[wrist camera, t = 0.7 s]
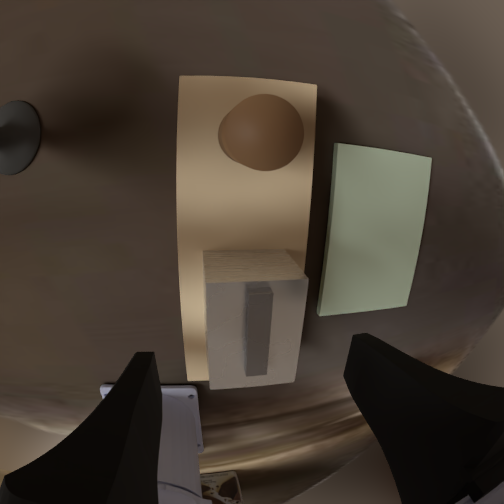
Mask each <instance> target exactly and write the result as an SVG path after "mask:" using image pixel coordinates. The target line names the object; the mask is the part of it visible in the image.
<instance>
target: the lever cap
mask: <svg viewBox="0 0 504 504" xmlns="http://www.w3.org/2000/svg"><path fill="white" fill-rule="evenodd" d="M308 281H309V278H308V277H307V276H306V275H305V274H304V272H303V271H302V270H301V269H300V268H299V266H298V265H297V264H296V263H295V261H294V260H293V259H292V258H291V257H290V255H289V254H288V253H287V252H286V251H285V249H258V250H211V251H203V293H204V322H205V345H206V355H207V366H208V375H209V385H210V390H213V389H229V388H242V387H254V386H264V385H273V384H282V383H290V382H294V381H295V375H296V368H297V362H298V356H299V349H300V342H301V335H302V328H303V321H304V313H305V306H306V298H307V290H308Z"/></svg>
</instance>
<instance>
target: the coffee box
mask: <svg viewBox="0 0 504 504" xmlns="http://www.w3.org/2000/svg"><path fill="white" fill-rule="evenodd" d="M200 481H201V490H202V499H207V500H211V501H212V504H244V503H243V498H242V493H241V488H240V485H239V481H238V477H237V474H236V472H235V471H228V472H221V473H212V474H202V475H200Z"/></svg>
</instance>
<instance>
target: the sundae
mask: <svg viewBox="0 0 504 504" xmlns="http://www.w3.org/2000/svg"><path fill="white" fill-rule="evenodd" d="M40 133H41V131H40V123H39V118H38V116H37V114H36V112H35V110H34V109H33V107H32V106H30V105H29V104H28V103H26V102H24V101H11V102H9V103H7V104H5V105H4V106H2V107H1V108H0V173H1V174H5V175H13V174H16V173H19V172H21V171H22V170H24V169H25V168H26V167H27V166H28V165H29V163H30V162H31V161H32V159H33V157H34V156H35V154H36V151H37V149H38V146H39V141H40Z"/></svg>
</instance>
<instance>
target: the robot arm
mask: <svg viewBox="0 0 504 504" xmlns="http://www.w3.org/2000/svg"><path fill="white" fill-rule="evenodd" d="M343 376H344V379H345V381H346V384H347V387H348V389H349V391H350V394H351V396H352V398H353V399H354V401H355V403H356V405H357V406H358V408H359V410H360V411H361V413H362V415H363V416H364V418H365V420H366V421H367V423H368V425H369V426H370V428H371V429H372V431H373V433H374V434H375V436H376V438H377V440H378V442H379V443H380V445H381V447H382V450H383V452H384V454H385V457H386V459H387V461H388V464H389V466H390V469H391V472H392V474H393V477H394V480H395V482H396V486H397V489H398V492H399V495H400V498H401V502H402V504H504V388H502V387H496V386H490V385H485V384H480V383H476V382H472V381H468V380H464V379H462V378H459V377H456V376H453V375H450V374H448V373H445V372H442V371H440V370H437V369H435V368H433V367H431V366H429V365H427V364H425V363H422V362H420V361H418V360H416V359H415V358H413V357H411V356H409V355H407V354H405V353H403V352H402V351H400V350H398V349H396V348H394V347H393V346H391V345H389V344H387V343H385V342H384V341H382V340H380V339H378V338H376V337H374V336H372V335H370V334H368V333H362V334H356V335H353V337H352V341H351V346H350V350H349V354H348V359H347V363H346V367H345V371H344V375H343ZM100 392H101V395H102V398H103V400H102V401H101V402H100V404H99V405H98V406H97V407H96V408H95V410H94V411H93V412H92V413H91V414H90V415H89V416H88V417H87V418H86V419H85V420H84V421H83V422H82V423H81V424H80V425H79V426H78V427H77V428H76V429H75V430H74V431H73V432H72V433H71V434H70V435H68V436H67V437H66V438H65V439H64V440H62V441H61V442H60V443H59V444H58V445H57V446H55V447H54V448H52V449H51V450H49V451H48V452H47V453H45V454H44V455H42V456H40V457H39V458H37V459H36V460H34V461H32V462H31V463H29V464H27V465H26V466H23V467H21V468H19V469H17V470H15V471H14V472H12V473H9V474H7V475H5V476H4V479H3V481H2V484H1V487H0V504H212V501H211V500H207V499H202V490H201V481H200V471H199V460H198V453H202V452H203V451H204V447H203V439H202V431H201V423H200V414H199V404H198V394H197V388H196V387H195V386H192V385H182V386H161V385H160V381H159V375H158V370H157V365H156V359H155V354H154V352H136V353H135V354H134V356H133V358H132V359H131V361H130V362H129V364H128V365H127V367H126V368H125V370H124V371H123V373H122V374H121V376H120V377H119V379H118V380H117V381H116V383H115V384H114V385H108V384H103V385H101V387H100ZM190 395H193V396H190Z"/></svg>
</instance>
